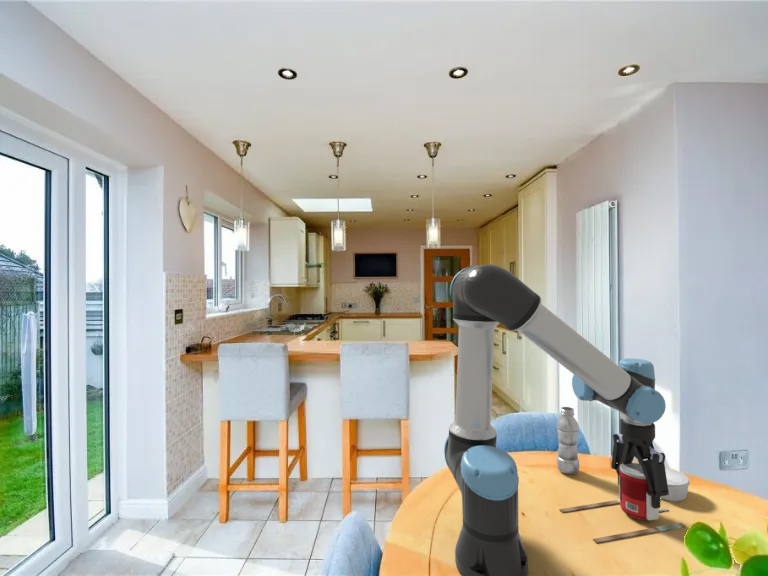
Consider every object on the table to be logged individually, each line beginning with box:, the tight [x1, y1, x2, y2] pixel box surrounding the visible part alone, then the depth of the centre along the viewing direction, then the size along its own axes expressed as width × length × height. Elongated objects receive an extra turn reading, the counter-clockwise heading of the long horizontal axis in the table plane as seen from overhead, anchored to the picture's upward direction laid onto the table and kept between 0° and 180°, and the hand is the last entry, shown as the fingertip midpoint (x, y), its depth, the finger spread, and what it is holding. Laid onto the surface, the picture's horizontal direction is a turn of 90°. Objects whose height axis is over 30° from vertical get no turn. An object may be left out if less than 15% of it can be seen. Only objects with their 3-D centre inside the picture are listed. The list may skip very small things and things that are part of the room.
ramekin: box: [660, 466, 691, 502], centre depth 111 cm, size 11×11×5 cm
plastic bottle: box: [556, 406, 580, 475], centre depth 124 cm, size 6×7×20 cm
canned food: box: [619, 462, 655, 521], centre depth 101 cm, size 8×8×11 cm
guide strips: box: [559, 498, 687, 544], centre depth 101 cm, size 27×14×1 cm, turn 102°
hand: (638, 508), depth 101 cm, fingers closed on canned food, 8 cm apart
